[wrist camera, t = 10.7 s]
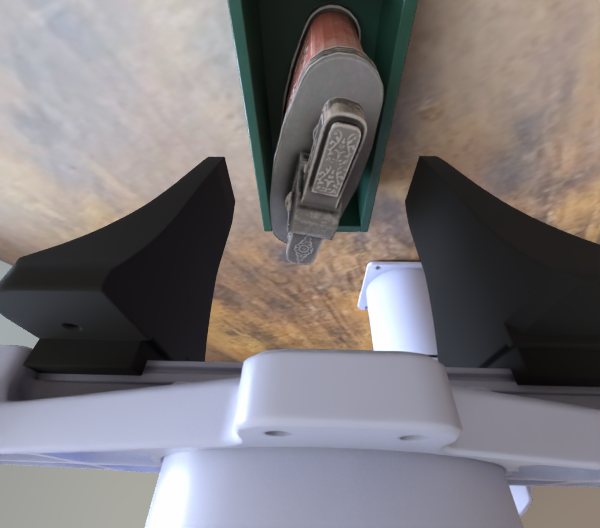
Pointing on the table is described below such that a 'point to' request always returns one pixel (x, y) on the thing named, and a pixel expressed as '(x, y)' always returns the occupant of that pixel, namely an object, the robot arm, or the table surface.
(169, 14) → the table surface
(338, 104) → the lighter
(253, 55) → the green open box
